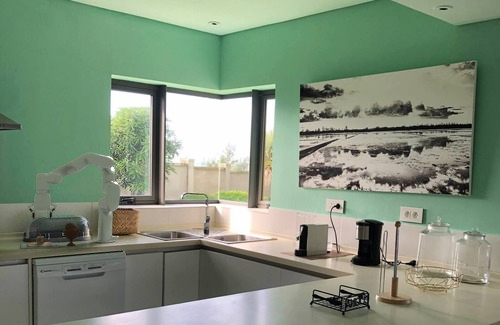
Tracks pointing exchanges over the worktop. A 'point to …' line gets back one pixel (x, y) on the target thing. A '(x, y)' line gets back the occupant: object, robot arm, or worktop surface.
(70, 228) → the ice cream bowl
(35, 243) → the walnut lid
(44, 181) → the robot arm
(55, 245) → the pale grey flat board
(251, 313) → the worktop surface
